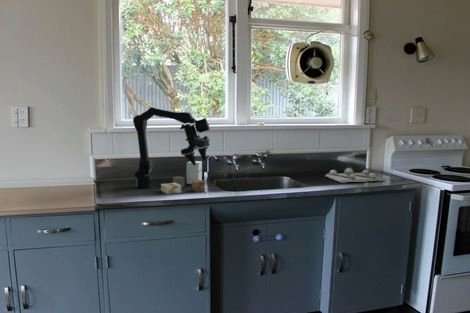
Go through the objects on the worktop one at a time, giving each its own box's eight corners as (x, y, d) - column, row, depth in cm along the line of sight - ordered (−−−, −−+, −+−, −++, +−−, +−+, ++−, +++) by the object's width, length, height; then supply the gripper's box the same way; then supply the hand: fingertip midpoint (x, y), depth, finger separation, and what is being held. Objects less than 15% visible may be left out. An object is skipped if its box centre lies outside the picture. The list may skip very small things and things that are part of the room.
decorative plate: (340, 184, 237) (341, 172, 236) (324, 177, 258) (325, 166, 257) (385, 182, 244) (386, 171, 243) (366, 176, 265) (367, 165, 264)
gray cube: (176, 187, 223) (176, 178, 222) (172, 185, 227) (172, 177, 226) (184, 186, 225) (184, 177, 225) (181, 184, 230) (181, 176, 229)
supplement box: (198, 184, 230) (198, 162, 228) (186, 184, 232) (186, 162, 230) (202, 182, 237) (202, 161, 235) (190, 181, 239) (190, 160, 237)
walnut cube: (196, 191, 213) (196, 182, 212) (192, 190, 217) (192, 180, 216) (204, 190, 215) (204, 181, 214) (200, 189, 219) (200, 180, 219)
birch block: (167, 194, 207) (166, 187, 206) (161, 191, 214) (161, 184, 213) (181, 192, 211) (181, 185, 211) (175, 189, 218) (174, 182, 217)
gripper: (192, 135, 203) (201, 165, 205) (213, 128, 219) (221, 156, 221) (176, 140, 210) (185, 168, 211) (197, 132, 225) (205, 159, 227)
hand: (199, 162), depth 217 cm, fingers open, 9 cm apart
